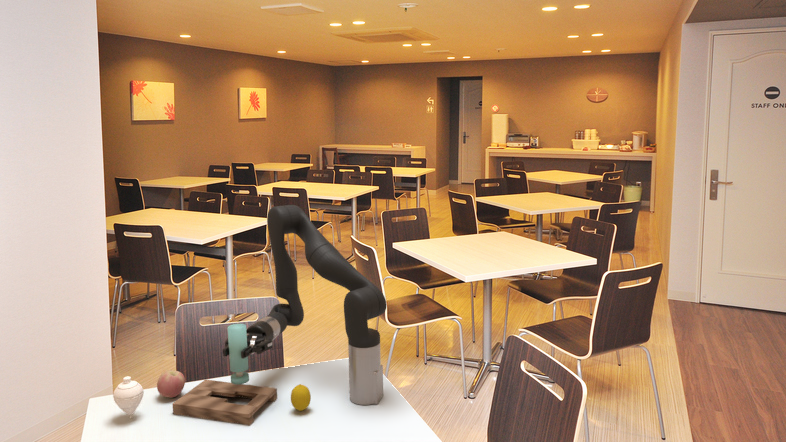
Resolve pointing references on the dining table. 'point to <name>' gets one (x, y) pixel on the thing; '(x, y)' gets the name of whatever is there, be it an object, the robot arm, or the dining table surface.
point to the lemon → (300, 397)
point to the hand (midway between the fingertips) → (233, 354)
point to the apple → (170, 383)
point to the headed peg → (238, 353)
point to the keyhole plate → (223, 401)
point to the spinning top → (128, 395)
